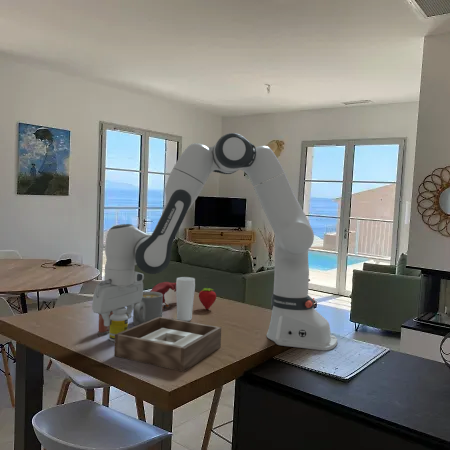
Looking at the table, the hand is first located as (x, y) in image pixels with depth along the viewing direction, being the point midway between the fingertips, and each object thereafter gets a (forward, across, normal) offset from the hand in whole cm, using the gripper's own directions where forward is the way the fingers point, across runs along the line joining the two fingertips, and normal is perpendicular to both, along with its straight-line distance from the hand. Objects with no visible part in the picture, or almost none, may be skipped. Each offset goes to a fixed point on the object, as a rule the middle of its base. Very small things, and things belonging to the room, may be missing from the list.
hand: (117, 321), depth 139 cm
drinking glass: (+5, +30, -6) cm, 31 cm away
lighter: (+6, +4, +8) cm, 10 cm away
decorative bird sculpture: (+6, +40, +11) cm, 42 cm away
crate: (+5, -1, -19) cm, 20 cm away
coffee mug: (+6, +18, +3) cm, 19 cm away
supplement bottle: (+6, 0, 0) cm, 6 cm away
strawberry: (+5, +48, -6) cm, 49 cm away
